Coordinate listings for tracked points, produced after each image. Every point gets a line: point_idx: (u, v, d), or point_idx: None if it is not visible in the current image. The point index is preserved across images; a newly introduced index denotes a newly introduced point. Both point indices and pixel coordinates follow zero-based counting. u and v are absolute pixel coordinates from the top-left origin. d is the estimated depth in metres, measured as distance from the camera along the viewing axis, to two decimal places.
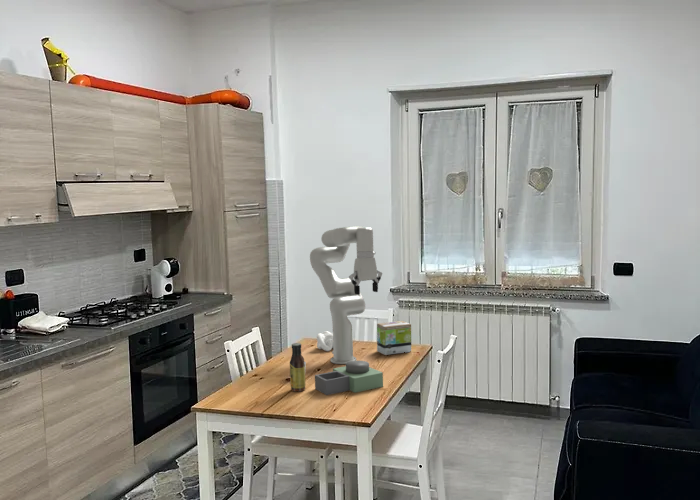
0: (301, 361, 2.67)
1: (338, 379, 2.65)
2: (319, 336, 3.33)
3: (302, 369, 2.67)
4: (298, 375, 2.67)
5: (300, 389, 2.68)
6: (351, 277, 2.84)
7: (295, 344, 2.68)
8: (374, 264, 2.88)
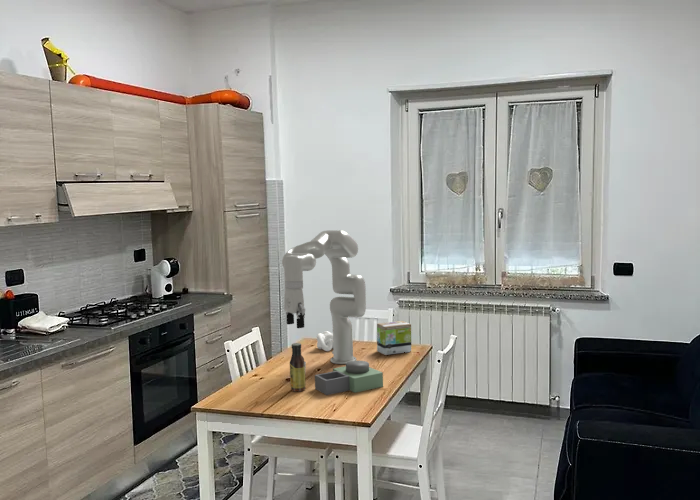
0: (301, 361, 2.67)
1: (338, 379, 2.65)
2: (319, 336, 3.33)
3: (302, 369, 2.67)
4: (298, 375, 2.67)
5: (300, 389, 2.68)
6: None
7: (295, 344, 2.68)
8: None
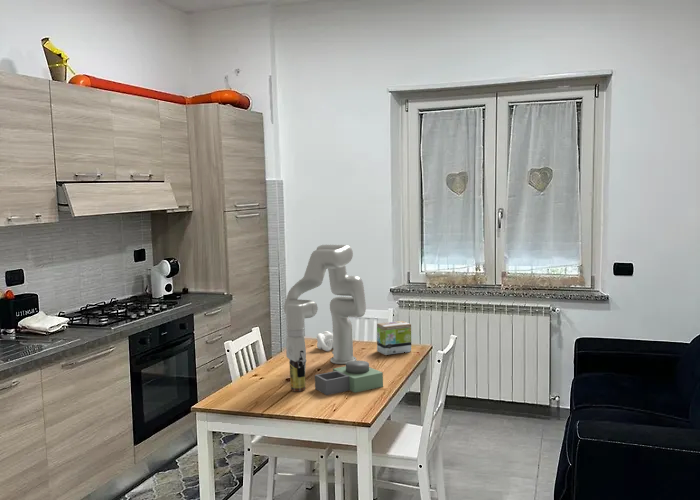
0: None
1: (338, 379, 2.65)
2: (319, 336, 3.33)
3: None
4: None
5: (300, 389, 2.68)
6: None
7: None
8: None
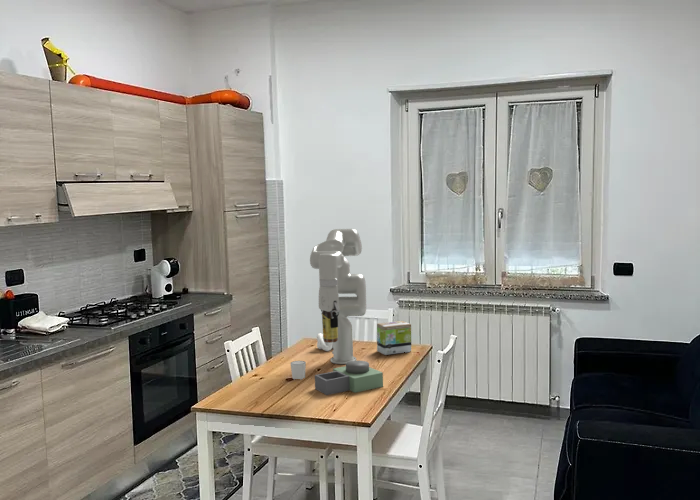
0: None
1: (338, 379, 2.65)
2: (319, 336, 3.33)
3: None
4: None
5: (333, 340, 2.65)
6: None
7: None
8: None
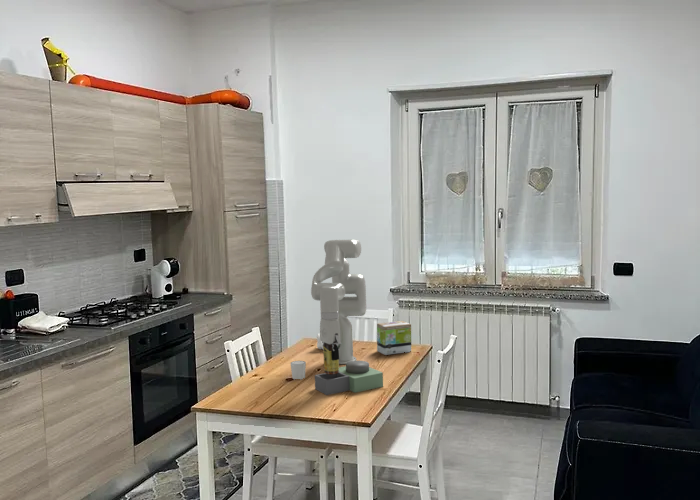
0: None
1: (338, 379, 2.65)
2: (319, 336, 3.33)
3: None
4: None
5: (334, 372, 2.66)
6: None
7: None
8: None
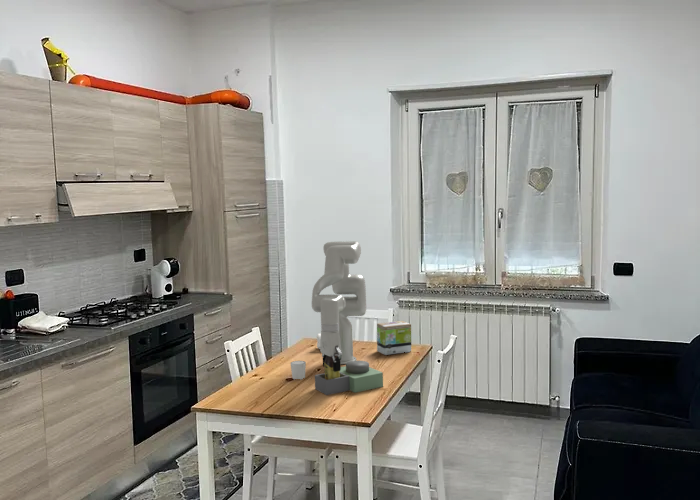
0: None
1: (338, 379, 2.65)
2: (319, 336, 3.33)
3: None
4: (333, 374, 2.66)
5: None
6: None
7: None
8: None
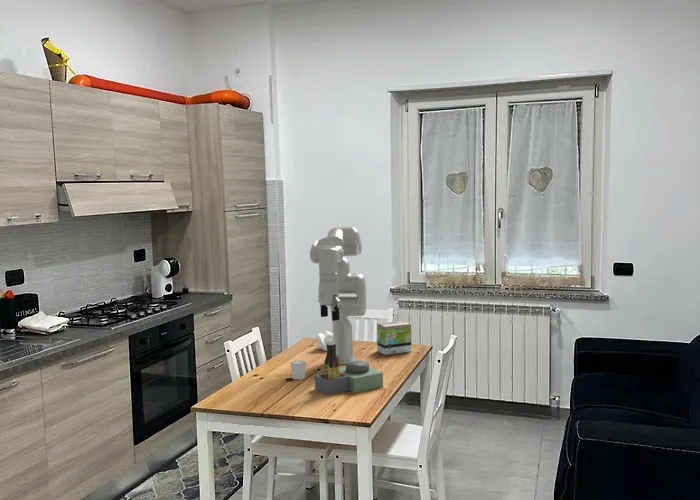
0: (336, 361, 2.66)
1: (338, 379, 2.65)
2: (319, 336, 3.33)
3: (337, 369, 2.66)
4: (333, 375, 2.66)
5: None
6: None
7: (330, 344, 2.66)
8: None
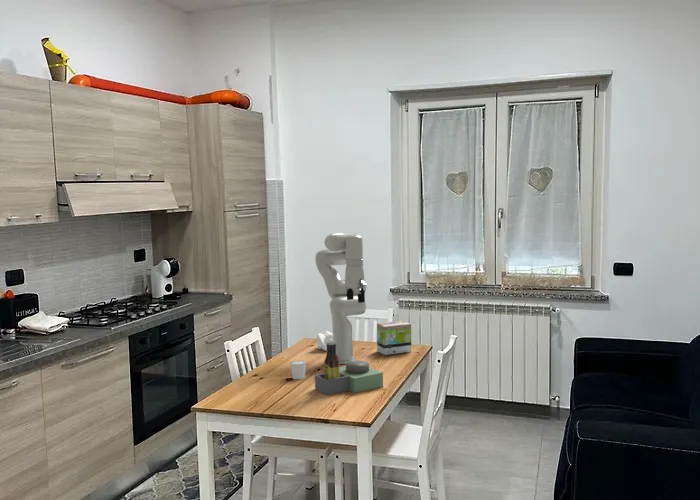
0: (336, 360, 2.66)
1: (338, 379, 2.65)
2: (319, 336, 3.33)
3: (337, 368, 2.66)
4: (333, 375, 2.66)
5: None
6: None
7: (330, 343, 2.67)
8: None
